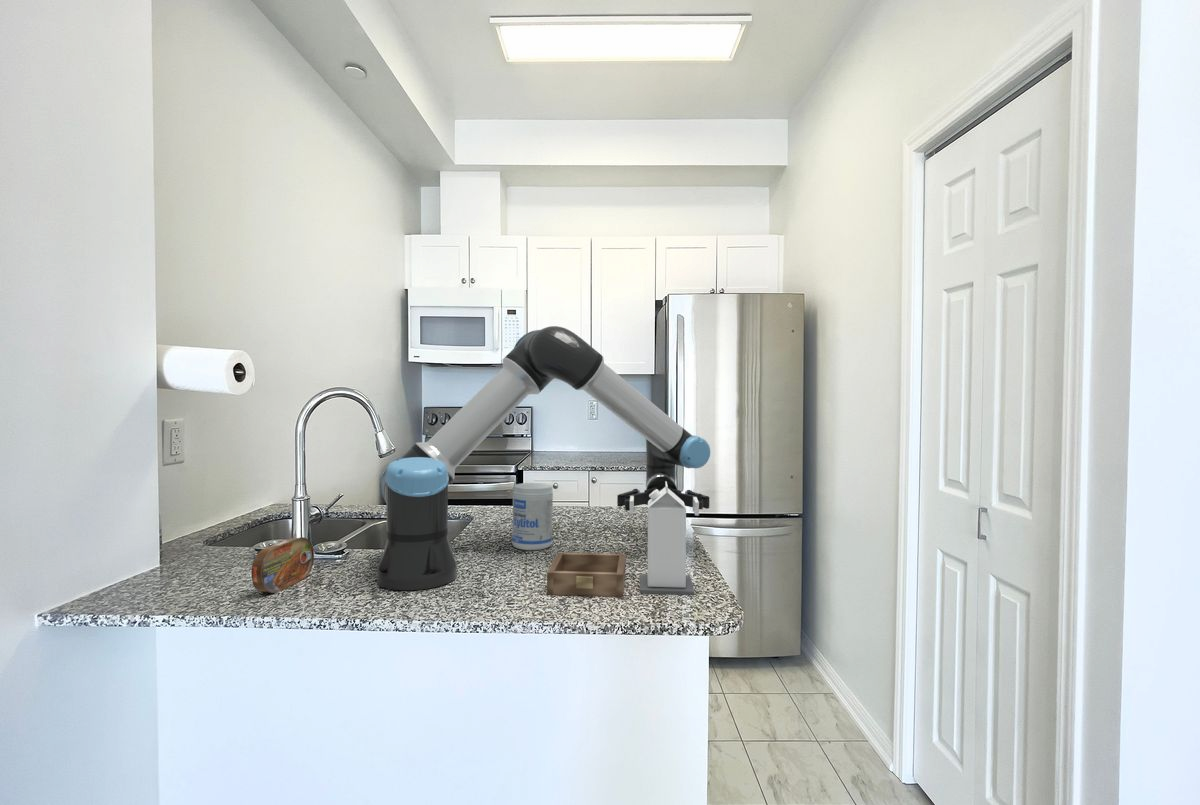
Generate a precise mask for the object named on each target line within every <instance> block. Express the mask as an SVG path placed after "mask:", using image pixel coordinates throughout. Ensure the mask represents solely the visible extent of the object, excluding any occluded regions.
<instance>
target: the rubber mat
mask: <svg viewBox="0 0 1200 805" xmlns="http://www.w3.org/2000/svg"><path fill="white" fill-rule="evenodd" d="M639 594H648V595H650V594H651V595H652V594H653V595H681V596H683V595H686V596H687V595H688V596H694V595H695V589H694V586H693V581H692V578H691V575H690V574H686V587H685V588H677V587H648V585H647V573H640V574H639Z"/></svg>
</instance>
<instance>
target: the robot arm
mask: <svg viewBox="0 0 1200 805" xmlns="http://www.w3.org/2000/svg"><path fill="white" fill-rule="evenodd" d="M554 379H557V380H560V381H562V382H564V383H566V384H568V385H569V386H570V387H571V388H573V389H574V390H575V391H584V392H586V393H587V394H588V395H590V397H592V398H593V399H594V400H596V401H597V402H598V403H599V404H601V405H602V406H604V408H606V409H607V410H608V411H610V412H611V413H612V414H614V415H615V416H616V417H617V418H618V419H620V420H621V421H623V423H625V424H626V425H627V426H629V427H630V428H631V429H633V430H634V431H635V432H636V433H638V434H639V435H640V436H642V438H644V439H645V442H646V446H645V448H646V452H645V453H646V455H645V456H646V468H645V470H646V471H645V473H646V476H645V490H644V491H643V492H641V490H640V489H638V488H633V489H631V490H629V491H626V492H622V493H619V494H617V497H616V498H617V499H616V500H617V501H616V504H617V507H618V508H619V507H624V509H625V511H628V512H629V515H634V510H635V509H634V508H635V507H637V506H642V505H646V506H648V501H649V500H650V499H651V498H650V497H649V495H650V494H651V493H652V492H653V491H654V490H656V489H658V490H659V492H660V491H661V490H662V489H663V488H664V487H665V481H667V486H668V489H670V490H671V491H672V492H673V493H674V494H675V495H676V496H678V497H679V498H680V499H681V500H682V501H683V502H684V504H685V507H689V508H692V511H693V513H694V516H700V510H704V509H710V496H709V495H705V494H702V493H698V492H695V491H693V490H691V489H687V490H685V491H684V492H682V491H681V490H679V489H678V487H677V484H676V466H680V467H683V468H686V469H700V468H702V467H704V466H706V464H707V463H708V461H709V460H710V457H711V446H710V444H709V443H708V441H707V440H706V439H704V438H703V437H700V436H697V435H693V434H691V433H690V432H689V431H687V430H686V429H685V428H684V427H682V426H681V425H680V424H678V423H677V422H676V421H675V420H674V419H673V418H671V416H669V415H668V414H666V413H665V412H664V411H663V410H661V408H659V407H658V405H657V406H656V405H655V403H653V402H652V401H651V400H650V399H648V398H647V397H646V396H645V395H644V394H642V393H641V392H640V391H639V390H637V389H636V388H635V387H634V386H632V384H630V383H629V382H628V381H626V380H625V379H624V378H623V377H621V375H620V374H618V373H617V372H616V371H614V370H613V369H612V368H611V367H609V366H608V365H607V364H606V363H605V359H604V356H603V355H602V354H601V353H600V352H599V351H598V350H596V349H595V348H594V347H592V346H591V345H590V344H589V343H588V342H586V341H585V340H584V339H583V338H581V337H580V336H579V335H578V334H576V333H575V332H573V331H571V330H569V329H568V328H566V327H563V326H557V325H554V326H547V327H544V328H541V329H535V330H532V331H529V332H527V333H524V335H522V336H521V337H520V338H519V339H518V340H517V342H516V343H515V345H514V346H513V349H511V350H510V351H509V353H507V355H505V356H504V357H503V359H502V368H501V369H500V370H499V372H497V373H496V374H495V375H494V376H493V377H492V379H490V380H489V381H488V382H487V383H486V384H485V385H484V386H483V387H482V388H480V390H479V391H478V392H477V393H476V394H474V396H473V397H472V398H471V399H470V400H469V401H468V402H466V403H465V405H464V406H462V407H461V409H459V410H458V411H457V412H456V413H455V414H454V415H453V416H452V417H451V418H450V419H449V420H448V421H447V422H446V423H445V424H443V426H442V427H441V428H440V429H439V430H438V431H436V433H434V434H433V435H432V436H431V437H430V438H429V439H428V440H427V441H425V442H420V441H419V442H415V443H414V445H412V446H411V447H410V448H409V449H408V450H407V451H406V452H405V453H404V454H403V455H402V456H401V457H398V458H396V459H395V460H393V461H392V462H390V463H389V464H388V465H387V466H386V468H385V469H384V470H383V473H382V475H381V479H380V483H379V484H380V494H381V496H382V498H383V500H384V502H385V503H386V504H385V505H386V542H385V546H384V549H383V552H382V555H381V559H380V561H379V564H378V568H377V572H376V575H377V576H376V581H377V582H376V583H377V585H379V586H380V587H382V588H384V589H387V590H388V589H389V590H392V591H393V590H396V591H419V590H426V589H432V588H436V587H440V586H443V585H447V584H449V583H451V582H453V581H455V580H456V578H457V575H458V568H457V567H458V565H457V561H456V558H455V555H454V552H453V548H452V547H451V544H450V540H449V531H448V528H449V521H448V520H449V516H448V515H449V513H448V512H449V509H448V507H449V502H448V501H449V492H448V491H449V490H448V488H449V485H450V484H451V483H452V482H453V481H454V480H455V478H456V477H455V473H456V472H455V471H456V468H457V467H459V465H460V464H461V463H462V462H464V460H466V458H467V457H468V456H469V455H471V453H472V452H473V451H474V450H475V449H476V448H477V447H478V446H479V445H480V444H481V443H482V442H483V441H484V440H485V439H486V438H487V437H488V436H489V435H490V434H491V433H492V432H493V431H494V430H495V429H496V428H497V427H498V426H499V425H500V424H501V423H502V422H503V421H504V420H505V419H506V418H507V417H508V416H509V415H510V414H511V413H512V412H513V411H514V410H515V409H516V408H517V407H518V406H519V405H520V404H521V403H522V402H523V401H524V400H525V399H526V398H527V397H528V396H529V395H540V393H541V392H542V391H543V390H544V389H545V388H546V387H547V386H548V385H549V384H550V383H551V382H552V381H553V380H554Z"/></svg>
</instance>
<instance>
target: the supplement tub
mask: <svg viewBox="0 0 1200 805" xmlns="http://www.w3.org/2000/svg"><path fill="white" fill-rule="evenodd" d="M553 497H554V491H553V485H552V484H550V483H546V482H545V483H543V482H524V483H523V482H522V483H517V484H515V485H513V492H512V521H511V523H512V524H511V525H512V526H511V528H512V529H511V530H512V531H511V533H512V534H511V537H512V538H511V543H512V546H513V547H514V548H516V549H518V550H523V551H539V550H545V549H547V548H549V547H551V546H552V544H553V510H554V509H553V507H554V506H553V502H554V500H553Z"/></svg>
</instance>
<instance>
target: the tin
mask: <svg viewBox="0 0 1200 805" xmlns="http://www.w3.org/2000/svg"><path fill="white" fill-rule="evenodd" d="M311 542H312V541H310V540H309V539H308V538H307V537H304V536H303V537H292V538H288V539H285V540H283V541H280V542H277V543H275V544H273V545H269V546H266V547H265V548H263V549H261V550H259V552H257V554H256V555H255V557H254V559H253V561H252V563H251V581H252V585H253V588H254V589H255V590H257V591H258V592H260V593H272V594H276V593H277V594H278V593H279V592H281V591H284V590H285V589H287V588H289V587H291V586H293V585H295V584H298V583H299V582H301V581H303V580H305V579H306V578H307V576H309V575H310V573H311V570H312V568H313V565H314V560H315V554H314V553H315V552H314V547H313V544H312V543H311Z"/></svg>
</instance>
